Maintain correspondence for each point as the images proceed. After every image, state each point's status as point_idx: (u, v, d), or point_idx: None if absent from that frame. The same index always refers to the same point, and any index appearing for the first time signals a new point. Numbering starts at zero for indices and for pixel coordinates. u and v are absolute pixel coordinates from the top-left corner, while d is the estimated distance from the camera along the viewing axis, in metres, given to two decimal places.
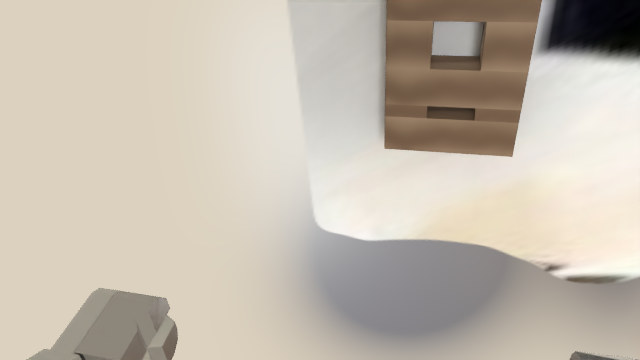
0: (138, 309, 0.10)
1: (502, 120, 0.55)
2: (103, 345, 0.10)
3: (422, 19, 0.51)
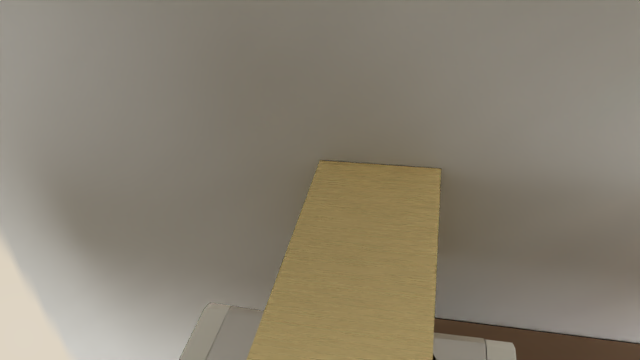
0: (258, 326, 0.10)
1: None
2: None
3: None
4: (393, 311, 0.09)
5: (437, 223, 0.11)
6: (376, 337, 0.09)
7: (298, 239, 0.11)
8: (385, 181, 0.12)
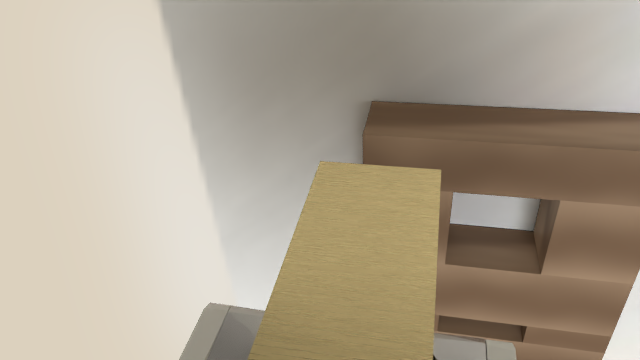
0: (258, 325, 0.10)
1: (574, 346, 0.31)
2: None
3: None
4: (393, 312, 0.09)
5: (437, 224, 0.11)
6: (377, 337, 0.09)
7: (298, 240, 0.11)
8: (385, 182, 0.12)
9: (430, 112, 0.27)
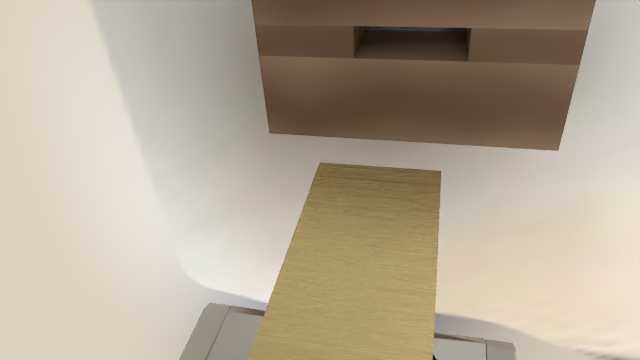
0: (258, 326, 0.10)
1: (538, 58, 0.22)
2: None
3: None
4: (392, 314, 0.09)
5: (437, 226, 0.11)
6: (377, 340, 0.09)
7: (298, 242, 0.11)
8: (385, 183, 0.12)
9: None
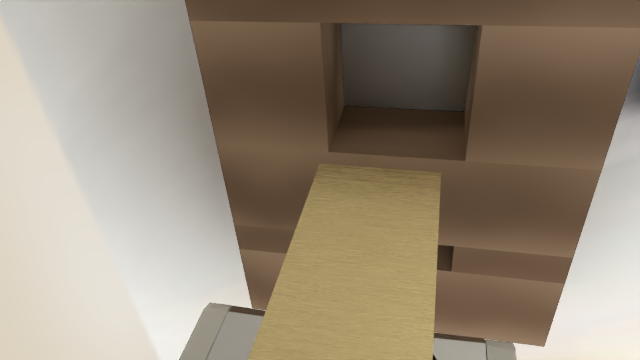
0: (258, 326, 0.10)
1: (522, 274, 0.22)
2: None
3: (288, 18, 0.17)
4: (392, 316, 0.09)
5: (437, 227, 0.11)
6: (376, 342, 0.09)
7: (298, 243, 0.11)
8: (385, 185, 0.12)
9: None
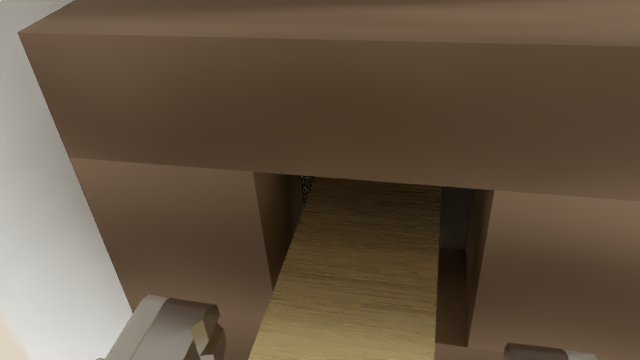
0: (191, 316, 0.10)
1: None
2: (159, 354, 0.10)
3: (206, 163, 0.11)
4: (401, 253, 0.10)
5: None
6: (387, 273, 0.10)
7: (315, 196, 0.12)
8: None
9: None
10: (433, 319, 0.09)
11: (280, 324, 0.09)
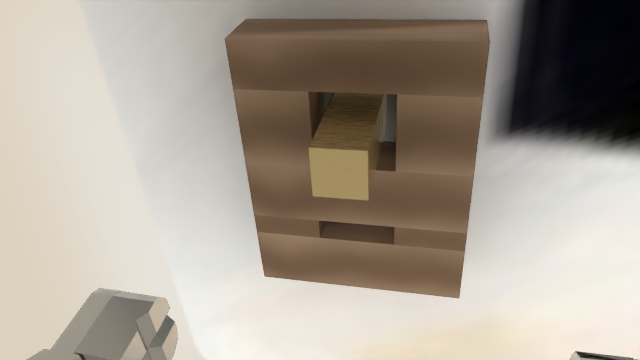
0: (138, 309, 0.10)
1: (438, 245, 0.34)
2: (103, 345, 0.10)
3: (290, 88, 0.30)
4: (363, 117, 0.29)
5: (381, 99, 0.31)
6: (358, 122, 0.28)
7: (331, 104, 0.30)
8: None
9: (291, 24, 0.30)
10: (372, 132, 0.27)
11: (321, 134, 0.27)
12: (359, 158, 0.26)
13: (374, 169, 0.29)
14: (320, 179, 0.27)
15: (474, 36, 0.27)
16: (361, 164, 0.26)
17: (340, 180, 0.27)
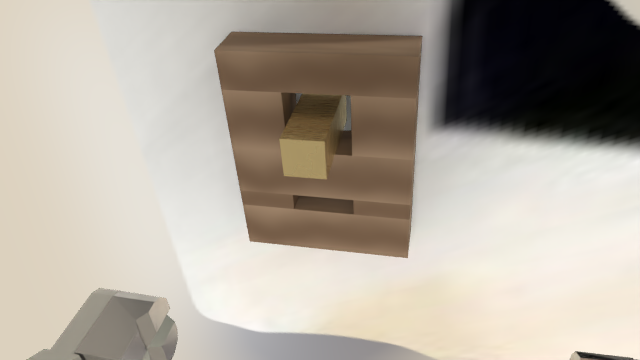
0: (138, 309, 0.10)
1: (388, 215, 0.42)
2: (103, 345, 0.10)
3: (266, 90, 0.37)
4: (324, 114, 0.36)
5: (340, 98, 0.38)
6: (319, 118, 0.36)
7: (300, 102, 0.38)
8: None
9: (267, 37, 0.38)
10: (329, 126, 0.35)
11: (289, 128, 0.35)
12: (318, 147, 0.34)
13: (333, 154, 0.37)
14: (289, 163, 0.35)
15: (408, 51, 0.34)
16: (319, 151, 0.34)
17: (304, 163, 0.35)
